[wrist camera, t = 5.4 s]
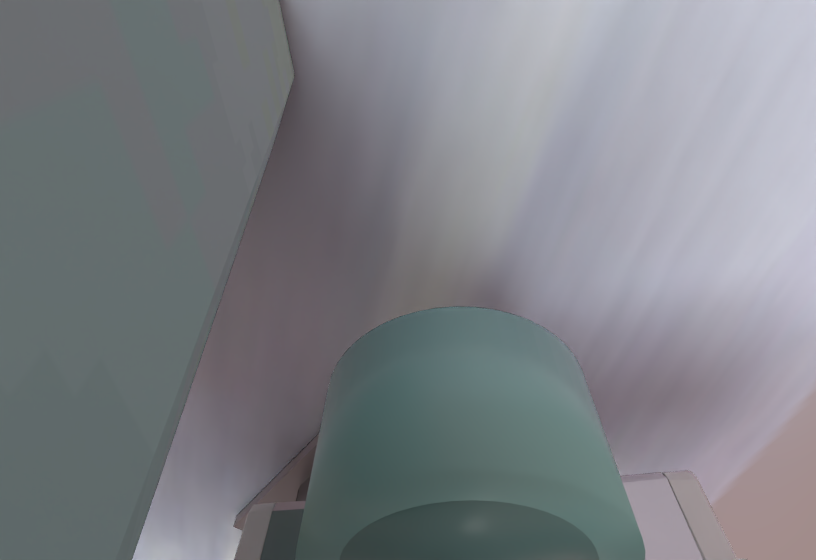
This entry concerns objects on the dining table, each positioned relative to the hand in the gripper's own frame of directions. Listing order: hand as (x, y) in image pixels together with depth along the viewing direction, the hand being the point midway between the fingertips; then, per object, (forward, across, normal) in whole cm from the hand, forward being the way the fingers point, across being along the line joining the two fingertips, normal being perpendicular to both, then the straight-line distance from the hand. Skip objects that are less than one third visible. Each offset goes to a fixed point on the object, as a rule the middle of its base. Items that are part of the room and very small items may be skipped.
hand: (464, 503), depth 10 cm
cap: (+2, 0, -1) cm, 2 cm away
